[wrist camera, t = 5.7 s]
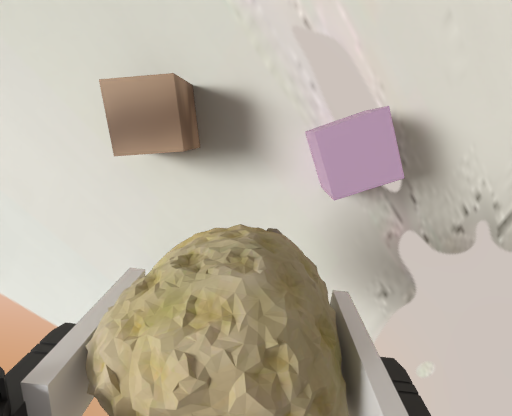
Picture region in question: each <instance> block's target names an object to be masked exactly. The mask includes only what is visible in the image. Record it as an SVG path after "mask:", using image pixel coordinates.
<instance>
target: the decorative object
mask: <svg viewBox="0 0 512 416" xmlns="http://www.w3.org/2000/svg"><path fill="white" fill-rule="evenodd" d="M268 231H269V232H268ZM86 349H87V351H88V354H87V360H86V373H87V377H88V380H89V385H88V390H87V394H90V395H93V396H94V397H96V398H97V400H98V402H99V403H100V405H101V406H102V408H103V409H104V410H105V411H106V412H107V413H108V415H109V416H349V414H348V407H347V399H346V383H345V381H344V378H343V376H342V372H341V362H342V354H341V348H340V343H339V338H338V333H337V326H336V312H335V310H334V309H333V308H332V307H331V306H330V304H329V301H328V291H327V287H326V284H325V282H324V281H323V280H321V278H320V276H319V274H318V271H317V266H316V265H315V264H314V263H313V262H312V261H311V260H310V259H309V258H308V257H306V256H305V255H304V254H303V252H302V251H301V250H300V249H299V248H298V247H297V246H296V245H295V244H294V243H293V242H292V241H291V240H289V239H288V238H287V237H286V236H284V235H283V234H282V233H281V232H280V231H279V230H278V229H271V228H268V229H267V231H265V230H264V229H262V228H251V227H247V226H244V225H241V224H239V225H236V226H233V227H230V228H214V229H211V230H209V231H205V232H200V233H197V234H195V235H193V236H192V237H190V238H188V239H187V240H185V241H183V242H181V243H180V244H178V245H177V246H175V247H174V248H173V249H172V250H171V251H169V252H168V253H167V254H166V255H165V256H164V257H163V258H162V259H161V260H159V262H158V263H157V264H156V265H155V266H154V267H153V268H152V271H150V272H149V273H148V274H147V275H146V276H144V277H143V278H138V279H137V280H135V281H134V282H133V283H132V284H131V287H129V288H126V289H125V290H124V291H123V292H122V293H121V294H120V296H119V297H118V299H117V301H116V303H115V305H114V306H111V307H109V308H108V312H106V313H105V314H104V316H103V317H102V319H101V321H100V323H99V325H98V327H97V329H96V331H95V333H94V335H93V337H92V339H91V340H90V341H89V343H88V344H87V345H86Z"/></svg>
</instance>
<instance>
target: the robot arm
mask: <svg viewBox="0 0 512 416" xmlns="http://www.w3.org/2000/svg"><path fill="white" fill-rule="evenodd" d="M144 276H145V269H136V268H129V269H128V270H127V271H126V273H125V274H124V275H123V276H122V277H121V278H120V279H119V280H118V281H117V282H116V283H115V284H114V285H113V286H112V287H111V288H110V289H109V290H108V291H107V292H106V293H105V295H104V296H103V297H102V298H101V299H100V300H99V301H98V302H97V303H96V304H95V305H94V306H93V307H92V308H91V309H90V310H89V311H88V312H87V313H86V314H85V315H84V316H83V318H82V319H81V320H80V321H79V322H78V323H77V324H73V323H64V324H63V325H61V326H59V327H57V328H56V329H54V330H52V331H51V332H50V333H49V334H48V335H47V336H45V338H43V339H42V340H41V341H40V344H37V345H36V346H35V347H34V348H33V349H32V350H31V352H30V353H28V354H27V355H26V356H25V357H24V358H22V360H21V361H20V362H18V363H17V364H16V365H15V366H14V367H13V368H12V369H11V370H10V371H9V372H8V373H7V374H6V375H5V373H4V370H3V369H2V368H1V367H0V416H82V415H83V413H84V412H85V410H86V409H87V407H88V405H89V404H90V402H91V401H92V399H93V398H94V396H93V395H90V394H87V390H88V385H89V380H88V377H87V373H86V360H87V354H88V351H87V349H86V345H87V344H88V343H89V341H90V340H91V339H92V337H93V335H94V333H95V331H96V329H97V327H98V325H99V323H100V321H101V319H102V317H103V316H104V314H105V313H106V312H108V308H109V307H111V306H114V305H115V303H116V301H117V299H118V297H119V296H120V294H121V293H122V292H123V291H124V290H125V289H126V288H129V287H131V284H132V283H133V282H134V281H135V280H137V279H138V278H143V277H144ZM330 306H331V307H332V308H333V309H334V310H335V312H336V326H337V333H338V338H339V343H340V348H341V354H342V362H341V372H342V376H343V378H344V381H345V383H346V399H347V407H348V414H349V416H431V415H430V413H429V411H428V410H427V407H426V406H425V404H424V402H423V400H422V398H421V397H420V396H419V395H418V392H417V390H416V388H415V386H414V385H413V384H412V381H411V379H410V377H409V376H408V374H407V372H406V370H405V369H404V368H403V367H402V366H401V365H400V364H399V363H398V362H397V361H396V360H395V359H394V358H386V357H380V356H379V354H378V352H377V350H376V348H375V346H374V344H373V342H372V340H371V338H370V336H369V334H368V332H367V330H366V328H365V326H364V323H363V321H362V319H361V317H360V315H359V313H358V311H357V309H356V307H355V305H354V303H353V301H352V299H351V297H350V295H349V293H348V292H345V291H336V290H333V292H332V297H331V302H330Z"/></svg>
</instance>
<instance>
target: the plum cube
mask: <svg viewBox="0 0 512 416" xmlns="http://www.w3.org/2000/svg"><path fill="white" fill-rule="evenodd" d="M305 133H306V137H307V140H308V143H309V147H310V150H311V154H312V157H313V161H314V164H315V167H316V171H317V174H318V178H319V181H320V184H321V187H322V188H323V190H324V191H325V192H326V193H327V194H328V195H329V196H330V197H331V198H332V199H333V200H337V199H340V198H343V197H347V196H350V195H353V194H356V193H359V192H362V191H366V190H369V189H372V188H375V187H378V186H381V185H384V184H388V183H391V182H394V181H397V180H400V179H403V178H404V173H403V169H402V164H401V159H400V155H399V150H398V145H397V141H396V136H395V132H394V127H393V122H392V118H391V113H390V108H389V106H386V107H381V108H376V109H372V110H367V111H363V112H360V113H357V114H354V115H351V116H348V117H346V118H343V119H340V120H337V121H334V122H331V123H329V124H326V125H323V126H320V127H317V128H314V129H312V130H309V131H306V132H305Z"/></svg>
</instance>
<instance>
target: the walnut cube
mask: <svg viewBox="0 0 512 416" xmlns="http://www.w3.org/2000/svg"><path fill="white" fill-rule="evenodd" d="M99 82H100V87H101V92H102V97H103V103H104V108H105V113H106V118H107V123H108V128H109V133H110V138H111V143H112V148H113V153H114V156H124V155H139V154H153V153H167V152H182V151H187V150H191V149H196V148H200V143H199V135H198V127H197V118H196V110H195V101H194V93H193V85H192V84H190V83H188V82H187V81H185V80H184V79H182V78H180V77H179V76H177V75H175V74H174V73H170V74H158V75H147V76H135V77H123V78H111V79H100V80H99Z"/></svg>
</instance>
